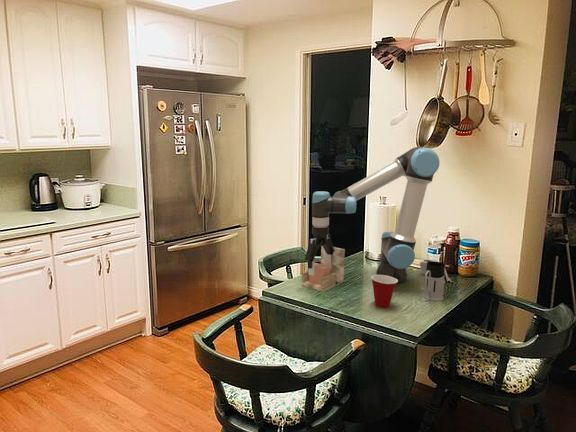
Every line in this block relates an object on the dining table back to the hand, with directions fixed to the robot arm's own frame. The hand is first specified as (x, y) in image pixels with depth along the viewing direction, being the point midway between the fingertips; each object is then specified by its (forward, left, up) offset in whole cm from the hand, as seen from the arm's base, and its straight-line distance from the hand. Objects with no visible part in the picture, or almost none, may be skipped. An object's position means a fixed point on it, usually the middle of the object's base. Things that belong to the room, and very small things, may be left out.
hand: (319, 271), depth 213 cm
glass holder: (-46, -19, -7) cm, 50 cm away
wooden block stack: (0, -3, -7) cm, 8 cm away
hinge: (-36, -47, -7) cm, 59 cm away
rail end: (0, 0, -5) cm, 5 cm away
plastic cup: (-34, +2, -7) cm, 34 cm away
